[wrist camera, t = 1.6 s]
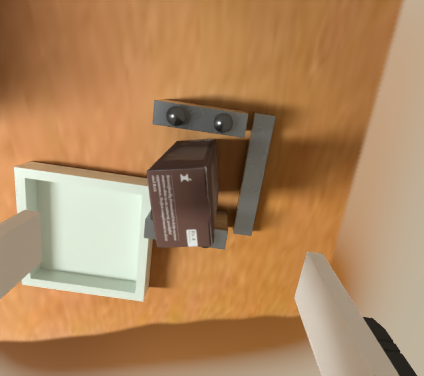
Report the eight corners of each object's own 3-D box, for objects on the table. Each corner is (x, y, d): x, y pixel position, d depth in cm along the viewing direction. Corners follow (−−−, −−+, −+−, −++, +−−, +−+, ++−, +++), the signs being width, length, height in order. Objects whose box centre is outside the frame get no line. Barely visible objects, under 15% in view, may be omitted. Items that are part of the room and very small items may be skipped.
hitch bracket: (154, 217, 33) (142, 240, 28) (165, 99, 29) (152, 100, 24) (250, 231, 33) (255, 257, 28) (273, 115, 29) (285, 119, 24)
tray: (35, 271, 36) (22, 284, 33) (30, 161, 32) (14, 166, 29) (148, 287, 36) (143, 301, 34) (158, 179, 32) (152, 187, 29)
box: (173, 141, 31) (143, 168, 19) (216, 138, 30) (212, 165, 19) (178, 195, 32) (155, 250, 21) (219, 193, 32) (217, 247, 21)
